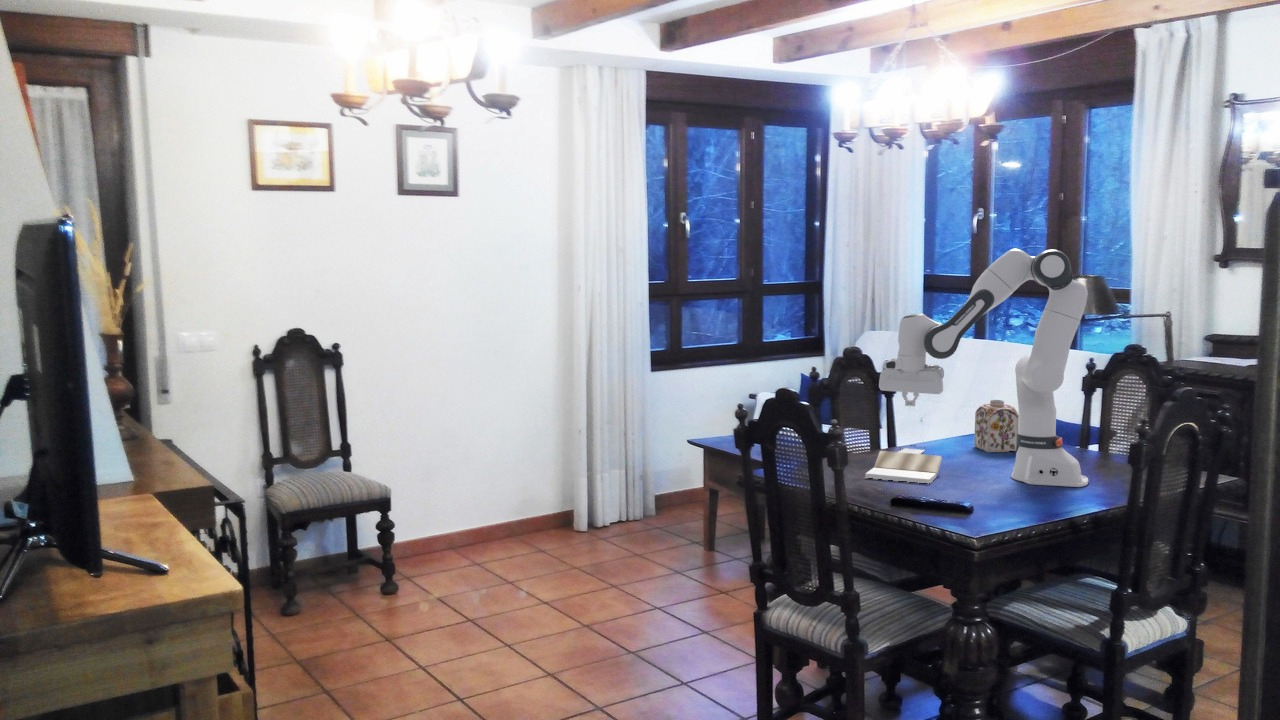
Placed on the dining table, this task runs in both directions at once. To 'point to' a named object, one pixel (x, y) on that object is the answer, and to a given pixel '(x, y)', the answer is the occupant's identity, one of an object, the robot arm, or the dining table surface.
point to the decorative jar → (996, 427)
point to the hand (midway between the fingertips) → (910, 406)
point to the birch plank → (908, 462)
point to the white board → (900, 475)
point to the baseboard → (912, 450)
